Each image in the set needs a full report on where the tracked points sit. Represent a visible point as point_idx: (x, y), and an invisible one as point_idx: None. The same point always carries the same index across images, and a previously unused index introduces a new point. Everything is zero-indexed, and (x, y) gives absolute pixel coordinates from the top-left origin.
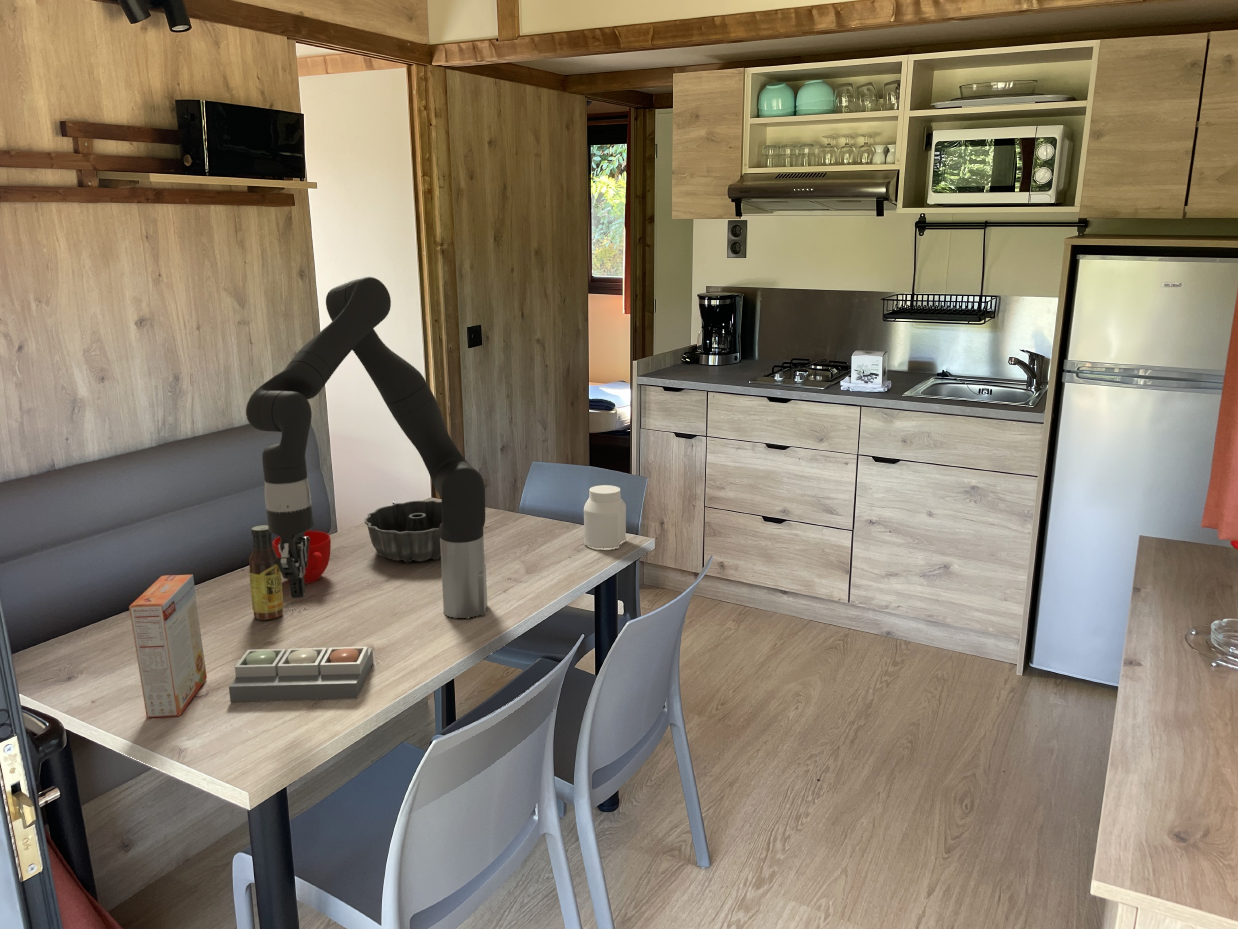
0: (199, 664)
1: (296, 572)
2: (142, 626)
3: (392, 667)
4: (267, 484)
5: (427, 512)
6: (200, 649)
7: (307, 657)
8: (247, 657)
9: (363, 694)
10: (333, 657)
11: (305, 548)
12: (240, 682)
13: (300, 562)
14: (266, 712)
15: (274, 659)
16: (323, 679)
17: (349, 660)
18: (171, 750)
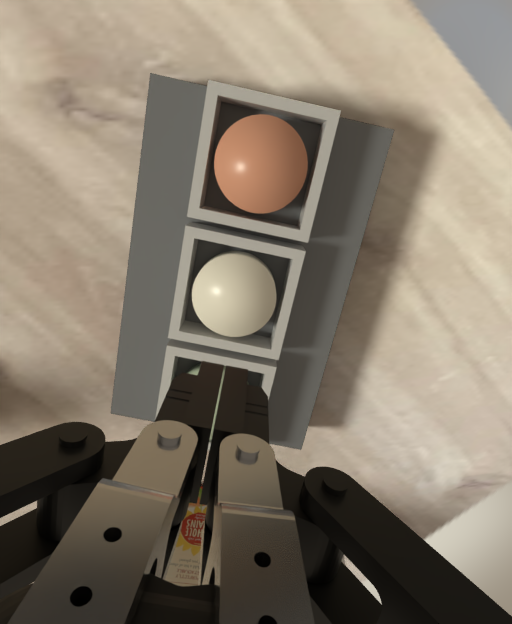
0: (200, 526)
1: (391, 530)
2: None
3: (207, 18)
4: None
5: None
6: (175, 550)
7: (254, 282)
8: (211, 437)
9: (360, 116)
10: (277, 201)
11: (56, 617)
12: (287, 428)
13: (297, 555)
14: (372, 352)
15: (223, 369)
16: (336, 229)
17: (303, 147)
18: (461, 498)
